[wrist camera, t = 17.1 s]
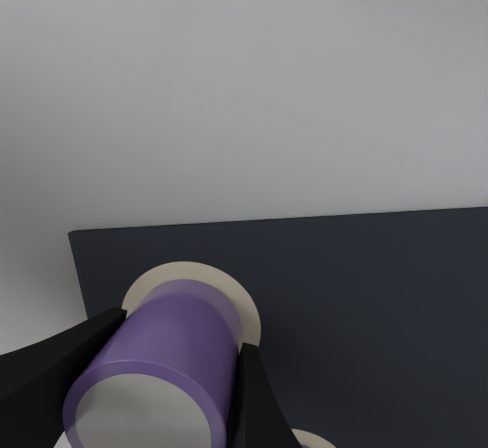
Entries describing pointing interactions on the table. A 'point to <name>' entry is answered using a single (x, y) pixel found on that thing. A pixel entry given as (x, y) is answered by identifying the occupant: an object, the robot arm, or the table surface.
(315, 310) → the mat
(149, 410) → the purple cylinder white cap
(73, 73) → the table surface
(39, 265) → the table surface
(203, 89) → the table surface
